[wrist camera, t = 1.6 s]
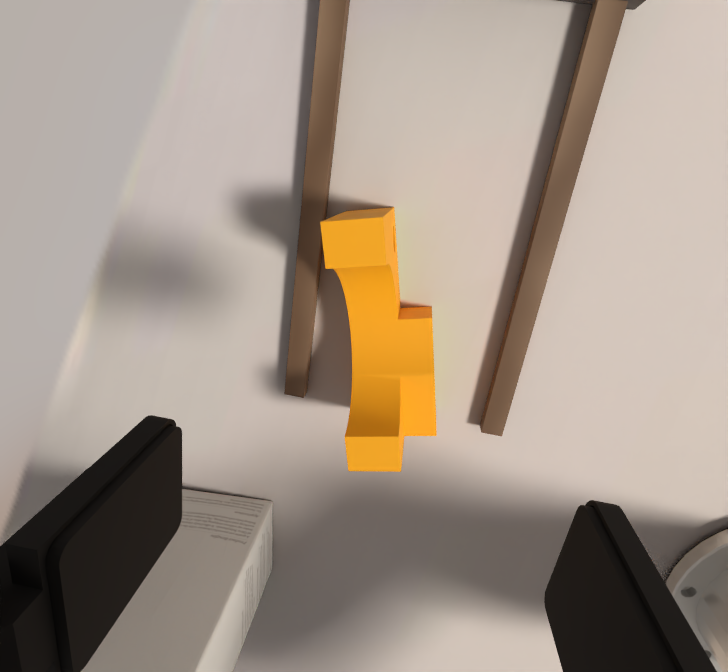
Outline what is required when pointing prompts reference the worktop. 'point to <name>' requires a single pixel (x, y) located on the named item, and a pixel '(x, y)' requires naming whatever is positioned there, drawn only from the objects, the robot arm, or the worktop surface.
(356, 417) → the pipe clamp
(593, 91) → the rail
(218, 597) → the skincare box
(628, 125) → the worktop surface
